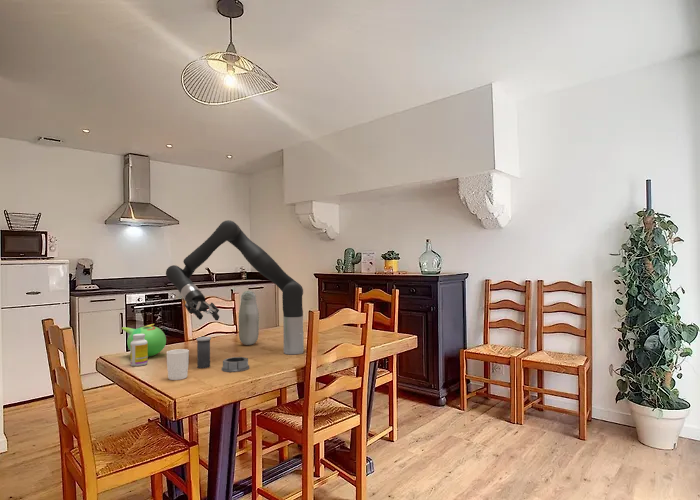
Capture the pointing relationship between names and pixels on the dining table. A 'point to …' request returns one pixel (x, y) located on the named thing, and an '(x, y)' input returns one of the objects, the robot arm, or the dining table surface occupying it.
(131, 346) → the supplement bottle
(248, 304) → the grey bottle
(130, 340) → the toy bird
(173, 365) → the white cup
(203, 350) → the white-topped grey cylinder
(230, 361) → the octagonal ring holder
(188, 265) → the robot arm
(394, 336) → the dining table surface
